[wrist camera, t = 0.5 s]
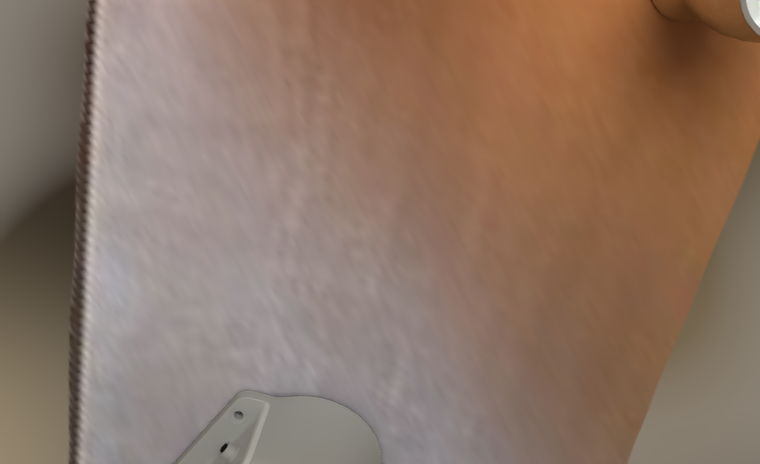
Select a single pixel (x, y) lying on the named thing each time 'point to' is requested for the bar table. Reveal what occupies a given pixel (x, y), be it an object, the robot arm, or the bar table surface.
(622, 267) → the bar table surface
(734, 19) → the beer glass
